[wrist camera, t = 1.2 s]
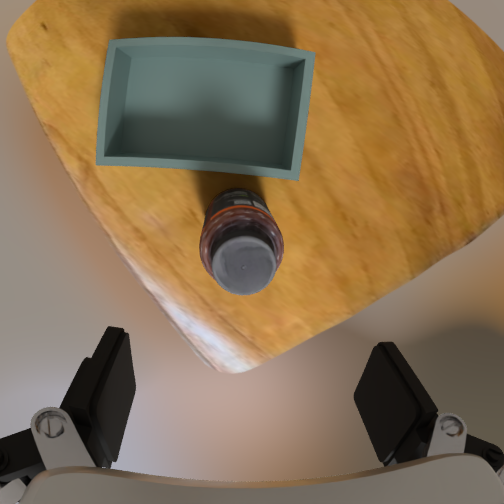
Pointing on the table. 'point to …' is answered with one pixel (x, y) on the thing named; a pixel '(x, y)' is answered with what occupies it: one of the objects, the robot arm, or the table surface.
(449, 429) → the robot arm
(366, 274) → the table surface
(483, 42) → the table surface
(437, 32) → the table surface
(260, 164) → the box
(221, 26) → the table surface
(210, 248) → the supplement bottle
